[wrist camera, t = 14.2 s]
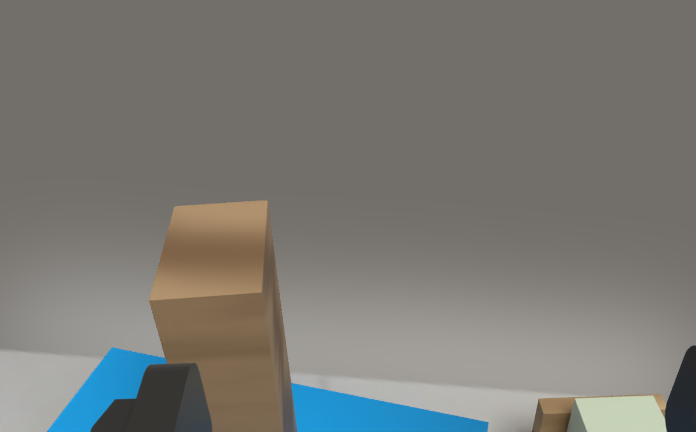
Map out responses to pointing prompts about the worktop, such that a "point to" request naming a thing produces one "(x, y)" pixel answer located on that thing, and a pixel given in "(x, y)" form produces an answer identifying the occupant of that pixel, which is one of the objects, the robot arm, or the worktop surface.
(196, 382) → the robot arm
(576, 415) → the offcut upper
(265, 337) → the tall wooden block
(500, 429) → the worktop surface
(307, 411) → the book
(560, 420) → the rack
